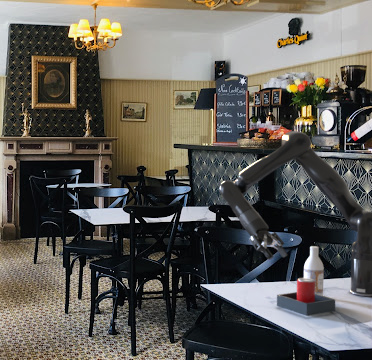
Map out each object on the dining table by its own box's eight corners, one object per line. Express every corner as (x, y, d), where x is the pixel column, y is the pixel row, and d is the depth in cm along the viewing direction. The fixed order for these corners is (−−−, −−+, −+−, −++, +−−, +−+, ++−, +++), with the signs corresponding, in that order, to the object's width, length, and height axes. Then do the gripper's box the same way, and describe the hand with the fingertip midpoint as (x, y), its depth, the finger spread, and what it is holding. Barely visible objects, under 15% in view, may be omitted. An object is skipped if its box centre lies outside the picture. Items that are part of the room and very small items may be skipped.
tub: (304, 304, 222) (304, 290, 221) (335, 313, 209) (335, 299, 209) (276, 308, 216) (277, 294, 216) (306, 318, 204) (306, 304, 204)
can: (304, 305, 217) (305, 277, 216) (318, 309, 211) (319, 280, 211) (292, 307, 214) (293, 278, 214) (305, 311, 209) (306, 282, 208)
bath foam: (316, 301, 226) (317, 249, 225) (299, 297, 232) (300, 246, 230) (326, 298, 230) (328, 247, 228) (310, 294, 235) (311, 244, 234)
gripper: (247, 218, 223) (273, 253, 215) (270, 215, 231) (296, 249, 223) (235, 230, 228) (260, 265, 219) (258, 227, 236) (283, 261, 227)
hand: (278, 257), depth 221 cm, fingers open, 8 cm apart
